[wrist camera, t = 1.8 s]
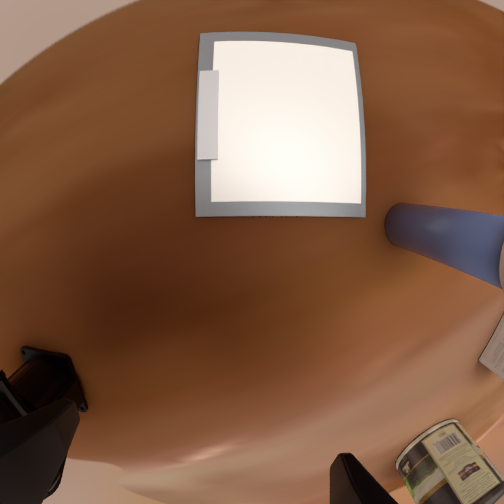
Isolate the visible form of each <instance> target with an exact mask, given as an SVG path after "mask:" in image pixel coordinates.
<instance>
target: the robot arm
mask: <svg viewBox="0 0 504 504" xmlns="http://www.w3.org/2000/svg"><path fill="white" fill-rule="evenodd" d="M20 351H21V354H22V357H23V360H24V364H23V365H22V366H21V367H20V368H19V369H17V370H16V371H15V372H14V373H13V374H12V375H11V376H10V377H9V378H8V379H7V378H6V375H5V373H4V372H3V370H0V504H42V502H43V500H44V499H46V498H47V497H49V496H50V495H52V494H53V493H54V492H55V491H56V489H57V488H58V486H59V484H60V482H61V478H62V473H63V469H64V465H65V461H66V457H67V453H68V450H69V447H70V445H71V442H72V439H73V437H74V434H75V432H76V429H77V427H78V424H79V421H80V416H79V413H78V411H80V412H86V411H87V410H88V407H87V404H86V402H85V399H84V397H83V394H82V391H81V389H80V386H79V383H78V380H77V378H76V375H75V372H74V369H73V366H72V363H71V360H70V358H69V357H68V356H66V355H63V354H57V353H52V352H47V351H43V350H38V349H34V348H29V347H25V346H23V347H22V348H21V349H20ZM330 504H398V503H397V502H396V501H395V500H394V499H393V498H392V497H391V496H390V495H389V493H388V492H387V491H386V490H385V489H384V488H383V487H382V486H381V485H380V484H379V483H378V482H377V481H376V480H375V479H374V477H373V476H372V475H371V474H370V473H369V472H368V471H367V470H366V469H365V468H364V467H363V465H362V464H361V463H360V462H359V461H358V460H357V459H356V458H355V456H354V455H353V454H351V453H340V454H338V456H337V457H336V459H335V460H334V462H333V463H332V465H331V467H330Z"/></svg>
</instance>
